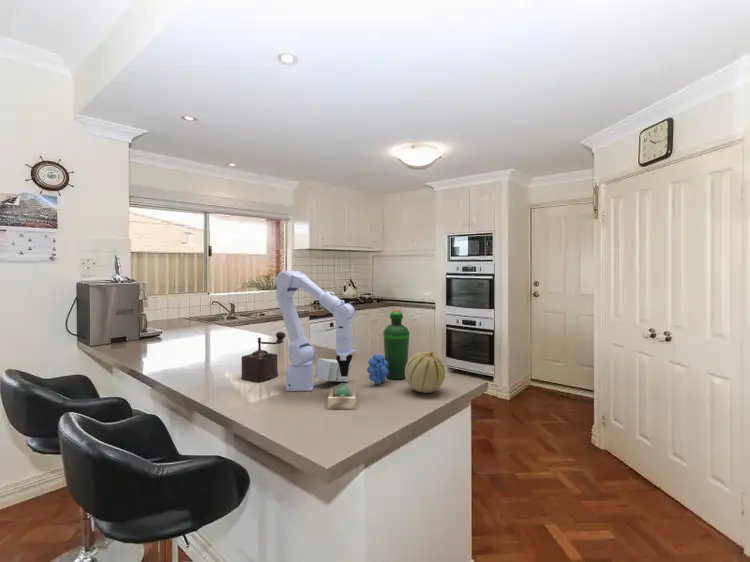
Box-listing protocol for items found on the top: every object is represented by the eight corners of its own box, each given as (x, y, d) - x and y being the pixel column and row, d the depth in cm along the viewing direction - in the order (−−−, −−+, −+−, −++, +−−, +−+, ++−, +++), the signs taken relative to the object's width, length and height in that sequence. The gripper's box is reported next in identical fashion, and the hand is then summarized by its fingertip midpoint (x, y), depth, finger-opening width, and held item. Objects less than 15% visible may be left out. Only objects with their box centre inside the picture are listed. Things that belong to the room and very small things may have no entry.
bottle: (409, 374, 171) (409, 308, 170) (409, 381, 160) (409, 310, 159) (384, 373, 172) (384, 307, 171) (382, 380, 161) (382, 310, 160)
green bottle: (338, 396, 144) (336, 407, 132) (335, 384, 143) (334, 394, 132) (350, 393, 144) (349, 404, 132) (348, 381, 144) (347, 391, 132)
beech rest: (327, 408, 130) (327, 398, 129) (331, 395, 143) (331, 385, 143) (355, 408, 130) (355, 397, 130) (356, 395, 143) (356, 385, 143)
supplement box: (348, 382, 160) (327, 381, 150) (335, 377, 164) (313, 377, 154) (352, 363, 160) (331, 361, 151) (338, 359, 165) (317, 357, 155)
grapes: (376, 389, 149) (376, 357, 149) (363, 386, 154) (363, 354, 154) (396, 383, 158) (396, 352, 158) (383, 379, 163) (383, 350, 162)
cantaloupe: (410, 384, 157) (411, 345, 156) (448, 388, 152) (449, 348, 151) (399, 395, 143) (399, 353, 143) (440, 400, 138) (440, 356, 137)
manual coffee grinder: (261, 383, 158) (261, 337, 157) (240, 379, 163) (240, 334, 162) (287, 373, 171) (287, 331, 171) (268, 370, 177) (267, 329, 176)
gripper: (354, 341, 137) (354, 381, 137) (356, 334, 151) (356, 370, 152) (333, 341, 137) (334, 381, 137) (337, 334, 151) (337, 370, 152)
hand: (344, 376), depth 145 cm, fingers closed
